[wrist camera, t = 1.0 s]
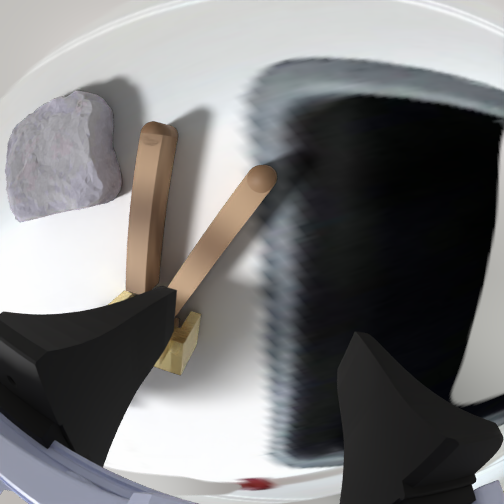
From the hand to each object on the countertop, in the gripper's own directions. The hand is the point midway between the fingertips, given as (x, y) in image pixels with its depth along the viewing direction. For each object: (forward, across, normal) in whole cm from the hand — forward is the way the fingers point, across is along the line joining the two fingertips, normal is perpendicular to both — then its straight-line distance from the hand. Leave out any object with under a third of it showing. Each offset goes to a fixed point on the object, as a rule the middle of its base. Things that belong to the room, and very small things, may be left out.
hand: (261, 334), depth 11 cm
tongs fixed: (+9, +8, +2) cm, 12 cm away
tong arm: (+9, +4, -1) cm, 10 cm away
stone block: (+10, +19, -5) cm, 22 cm away
